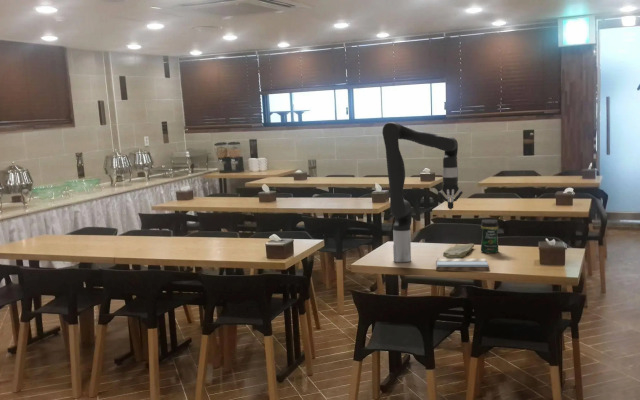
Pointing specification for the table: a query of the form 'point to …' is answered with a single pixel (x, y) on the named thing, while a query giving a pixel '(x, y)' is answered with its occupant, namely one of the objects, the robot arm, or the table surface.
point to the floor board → (463, 267)
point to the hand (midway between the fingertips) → (450, 209)
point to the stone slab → (458, 251)
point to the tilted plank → (461, 264)
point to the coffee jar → (489, 236)
